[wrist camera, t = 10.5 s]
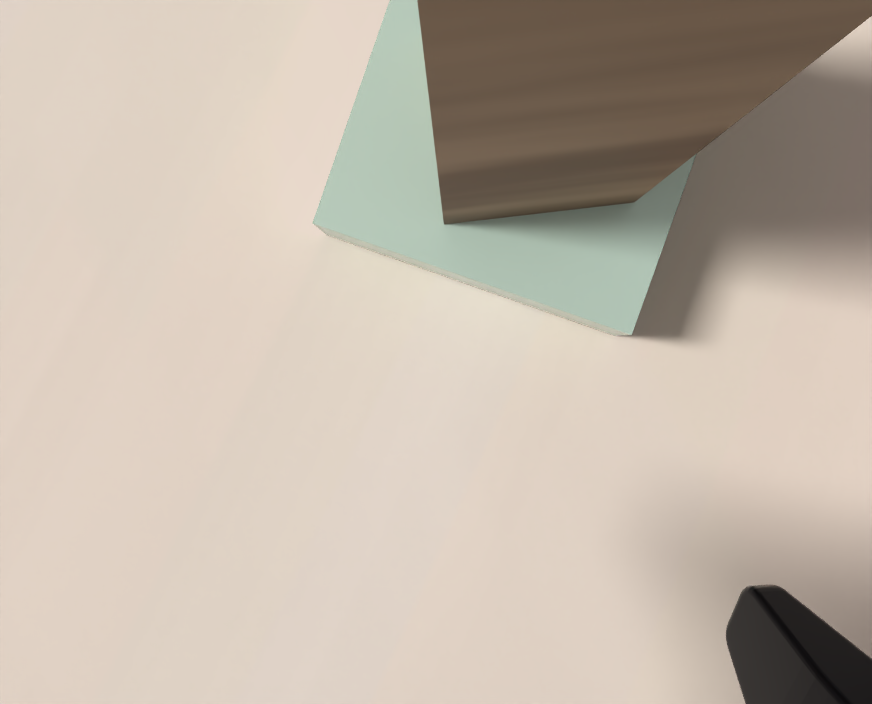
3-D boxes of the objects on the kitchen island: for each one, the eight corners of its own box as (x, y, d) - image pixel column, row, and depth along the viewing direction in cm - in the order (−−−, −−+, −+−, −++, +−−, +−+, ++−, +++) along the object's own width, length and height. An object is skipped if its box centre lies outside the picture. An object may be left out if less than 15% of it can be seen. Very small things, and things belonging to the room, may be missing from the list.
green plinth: (718, 44, 20) (747, 11, 18) (614, 335, 20) (631, 335, 18) (427, -55, 20) (424, -99, 18) (326, 234, 20) (312, 223, 18)
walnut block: (633, 202, 18) (993, -82, 6) (443, 224, 18) (415, -8, 6) (613, 10, 18) (934, -668, 6) (422, 34, 18) (353, -582, 6)
